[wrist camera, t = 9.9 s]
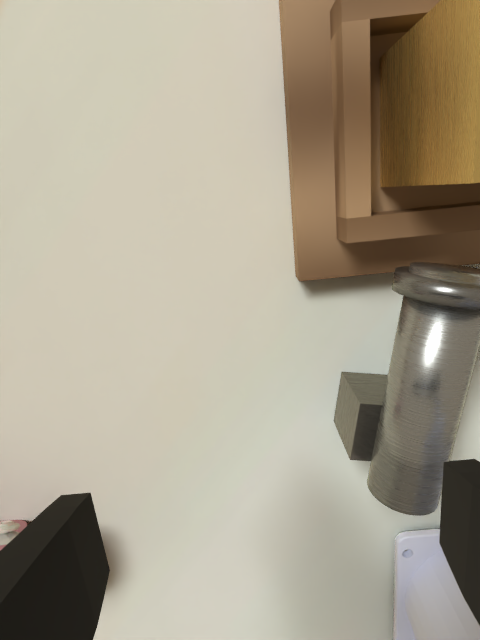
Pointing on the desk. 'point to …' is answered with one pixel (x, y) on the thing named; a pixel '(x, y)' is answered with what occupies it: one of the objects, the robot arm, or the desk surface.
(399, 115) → the rectangular peg
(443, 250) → the socket
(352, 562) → the desk surface
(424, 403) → the shaft
